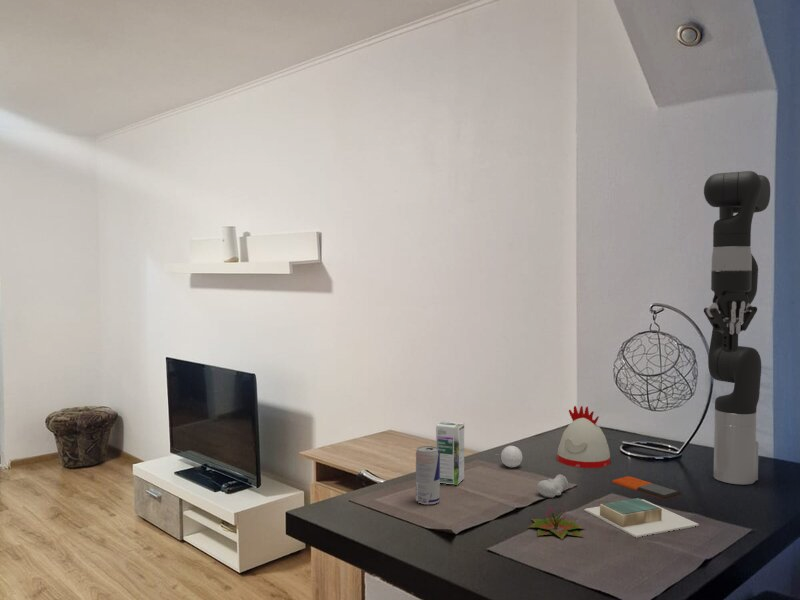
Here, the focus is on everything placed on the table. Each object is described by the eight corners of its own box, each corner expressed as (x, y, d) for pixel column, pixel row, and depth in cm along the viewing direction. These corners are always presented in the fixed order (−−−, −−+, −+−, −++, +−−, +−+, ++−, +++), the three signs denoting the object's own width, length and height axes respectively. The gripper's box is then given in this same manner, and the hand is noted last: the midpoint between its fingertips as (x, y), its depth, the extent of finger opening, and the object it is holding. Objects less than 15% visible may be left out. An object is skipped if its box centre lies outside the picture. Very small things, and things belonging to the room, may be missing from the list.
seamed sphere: (525, 466, 179) (525, 445, 179) (517, 471, 174) (517, 449, 174) (499, 461, 183) (499, 441, 183) (490, 466, 178) (490, 445, 178)
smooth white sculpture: (546, 505, 153) (532, 492, 157) (572, 498, 157) (557, 485, 161) (550, 489, 151) (535, 476, 155) (576, 482, 156) (561, 470, 160)
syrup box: (435, 483, 164) (435, 424, 163) (442, 477, 170) (443, 419, 169) (457, 486, 162) (457, 426, 161) (464, 479, 167) (464, 421, 167)
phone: (628, 475, 169) (682, 491, 156) (628, 480, 169) (682, 496, 156) (611, 479, 165) (665, 496, 152) (611, 484, 165) (665, 502, 153)
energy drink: (443, 499, 153) (443, 447, 152) (434, 507, 148) (434, 453, 147) (421, 496, 155) (421, 444, 155) (412, 503, 150) (412, 450, 150)
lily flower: (522, 519, 142) (522, 497, 142) (580, 520, 141) (580, 499, 141) (530, 542, 130) (530, 518, 130) (593, 543, 129) (593, 520, 129)
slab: (637, 497, 145) (599, 503, 141) (661, 508, 139) (622, 514, 135) (637, 509, 145) (599, 515, 142) (661, 520, 139) (622, 527, 135)
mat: (643, 501, 152) (643, 499, 151) (698, 526, 137) (698, 524, 137) (584, 510, 146) (584, 508, 146) (635, 537, 131) (636, 535, 131)
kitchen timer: (569, 451, 194) (569, 399, 193) (616, 459, 186) (617, 405, 185) (549, 462, 183) (550, 407, 182) (599, 471, 175) (600, 413, 174)
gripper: (739, 268, 146) (738, 348, 147) (692, 269, 141) (691, 351, 142) (770, 268, 139) (768, 352, 140) (722, 269, 134) (720, 355, 135)
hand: (730, 351), depth 141 cm, fingers closed
